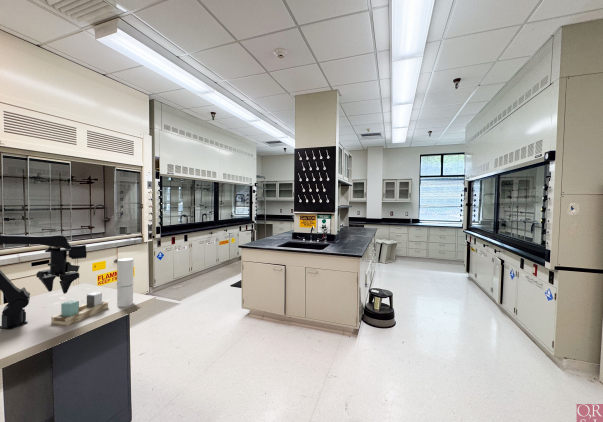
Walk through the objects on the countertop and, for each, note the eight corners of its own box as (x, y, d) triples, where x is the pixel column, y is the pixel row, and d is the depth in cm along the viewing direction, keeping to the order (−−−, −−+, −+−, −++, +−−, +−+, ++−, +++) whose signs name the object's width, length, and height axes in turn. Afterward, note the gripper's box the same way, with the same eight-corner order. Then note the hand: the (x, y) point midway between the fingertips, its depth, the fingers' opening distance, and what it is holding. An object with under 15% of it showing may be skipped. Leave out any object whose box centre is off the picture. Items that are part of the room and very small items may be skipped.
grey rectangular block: (93, 309, 128) (93, 295, 128) (86, 308, 129) (86, 294, 129) (101, 305, 133) (102, 292, 133) (94, 304, 133) (94, 291, 133)
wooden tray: (67, 325, 114) (67, 319, 114) (51, 323, 116) (51, 317, 116) (108, 307, 134) (108, 302, 134) (93, 306, 135) (93, 300, 135)
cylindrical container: (128, 300, 144) (129, 257, 143) (135, 303, 140) (136, 259, 140) (114, 304, 138) (115, 259, 137) (120, 307, 134) (121, 261, 134)
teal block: (69, 319, 117) (69, 304, 117) (61, 318, 118) (61, 303, 118) (79, 315, 121) (79, 300, 121) (71, 314, 122) (71, 299, 122)
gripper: (91, 258, 128) (90, 289, 128) (62, 255, 132) (61, 285, 132) (66, 263, 117) (65, 296, 117) (35, 260, 121) (35, 292, 121)
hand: (57, 292), depth 122 cm, fingers open, 9 cm apart
